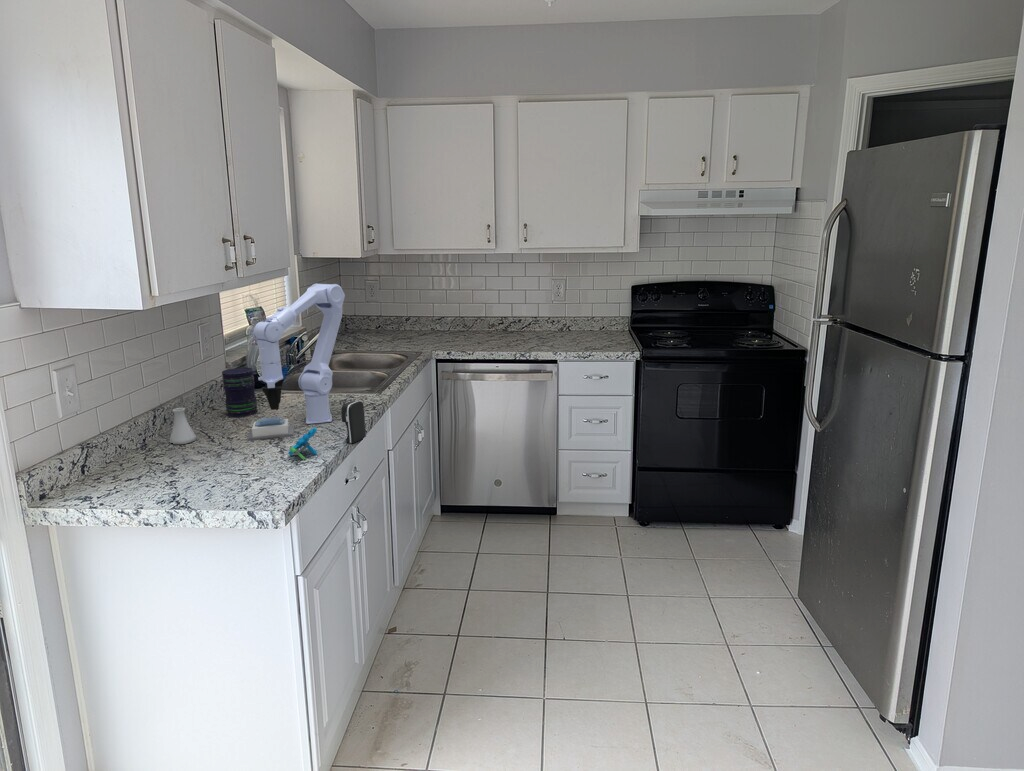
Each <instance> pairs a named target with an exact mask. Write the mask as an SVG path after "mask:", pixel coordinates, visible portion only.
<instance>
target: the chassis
mask: <svg viewBox="0 0 1024 771" xmlns="http://www.w3.org/2000/svg"><path fill="white" fill-rule="evenodd" d="M284 419H285V423H284V424H281V425H274V426H264V427H260V426H255V423H256V422H259V421H260V420H259V421H254V422H253V424H252V428H251V429H249V432H248V435H247V438H246V441H254V440H256V441H257V440H266V439H275V438H284V437H294V434H293V433H294V432H295V424H291V425H290V423H289V418H284ZM280 420H281V418H280Z"/></svg>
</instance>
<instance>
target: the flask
mask: <svg viewBox="0 0 1024 771" xmlns="http://www.w3.org/2000/svg"><path fill="white" fill-rule="evenodd" d="M185 410H186V408H185V407H177V408H173V409H172V411H171V412H172V413H173V415H174V416H173V417H174V418H173V420H174V421H173V425H172V430H171V434H170V437H169V442H170V443H169V442H168V443H169V444H171V443H173V444H172V445H186V444H189V443H192V442H195V441H196V440H197V439H198V437H197V436H196V434H195V432H194V431H193V429H192V427H191V426H190V423H189V422H188V420H187V416H186V412H185Z"/></svg>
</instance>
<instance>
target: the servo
mask: <svg viewBox="0 0 1024 771" xmlns="http://www.w3.org/2000/svg"><path fill="white" fill-rule="evenodd" d="M280 419H281V416H271V417H260V419H259V422H258V421H255V422H256V423H255V426H260V427H264V426H274V425H281V424H284V423H285V419H286V418H282V419H281V420H280Z"/></svg>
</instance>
